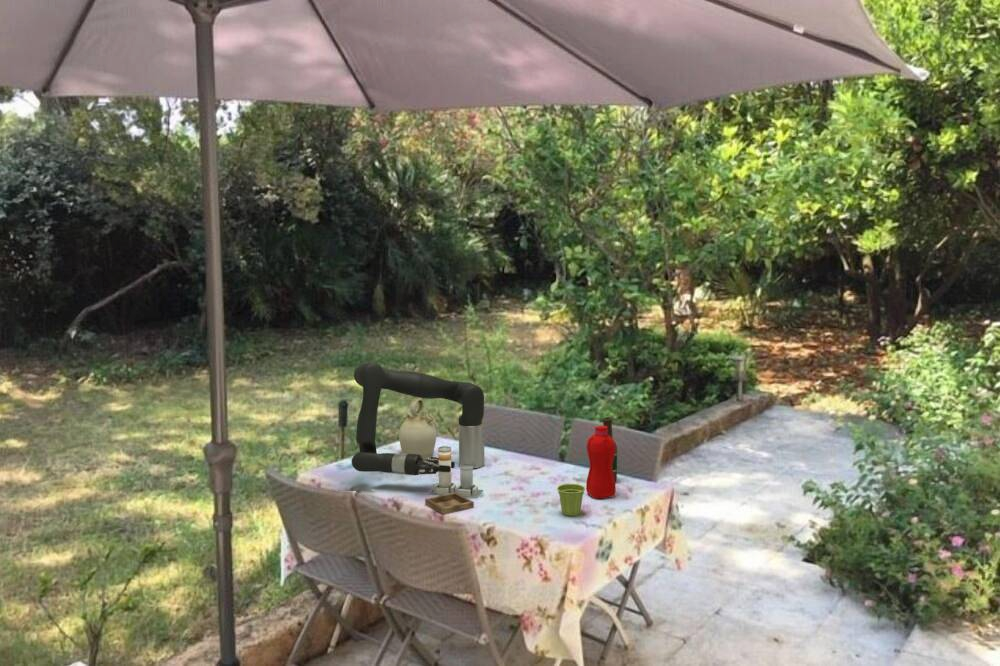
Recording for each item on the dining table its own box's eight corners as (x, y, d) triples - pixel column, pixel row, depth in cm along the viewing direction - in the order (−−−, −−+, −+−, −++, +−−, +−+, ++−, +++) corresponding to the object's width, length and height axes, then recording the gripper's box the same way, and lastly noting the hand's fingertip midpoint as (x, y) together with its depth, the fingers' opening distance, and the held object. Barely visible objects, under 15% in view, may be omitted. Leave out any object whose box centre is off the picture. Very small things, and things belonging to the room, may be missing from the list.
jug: (444, 456, 338) (443, 397, 335) (415, 464, 327) (414, 403, 324) (420, 449, 348) (418, 392, 345) (391, 457, 337) (390, 397, 334)
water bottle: (604, 488, 296) (604, 420, 292) (618, 497, 285) (619, 427, 282) (581, 491, 293) (581, 423, 289) (595, 500, 282) (595, 430, 279)
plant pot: (551, 512, 272) (551, 487, 271) (572, 506, 277) (572, 481, 276) (569, 520, 264) (569, 494, 263) (591, 514, 270) (591, 488, 268)
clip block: (427, 496, 288) (427, 488, 288) (435, 488, 297) (435, 480, 296) (477, 500, 284) (476, 492, 283) (483, 492, 292) (483, 484, 292)
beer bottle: (612, 485, 298) (612, 421, 295) (592, 482, 303) (593, 419, 299) (620, 479, 305) (621, 417, 302) (601, 476, 309) (602, 414, 306)
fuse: (468, 490, 292) (468, 463, 291) (475, 493, 289) (475, 466, 287) (457, 492, 290) (457, 465, 288) (464, 495, 286) (464, 468, 285)
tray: (455, 499, 284) (455, 492, 284) (473, 509, 275) (473, 501, 274) (425, 506, 278) (425, 498, 278) (442, 517, 268) (442, 509, 268)
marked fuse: (447, 488, 294) (446, 445, 292) (454, 492, 290) (453, 448, 288) (436, 490, 292) (435, 447, 290) (442, 494, 288) (442, 450, 286)
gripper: (399, 459, 286) (446, 462, 282) (413, 448, 300) (458, 451, 296) (400, 480, 287) (446, 483, 283) (413, 468, 301) (458, 471, 297)
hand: (452, 467), depth 289 cm, fingers closed on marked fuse, 4 cm apart
